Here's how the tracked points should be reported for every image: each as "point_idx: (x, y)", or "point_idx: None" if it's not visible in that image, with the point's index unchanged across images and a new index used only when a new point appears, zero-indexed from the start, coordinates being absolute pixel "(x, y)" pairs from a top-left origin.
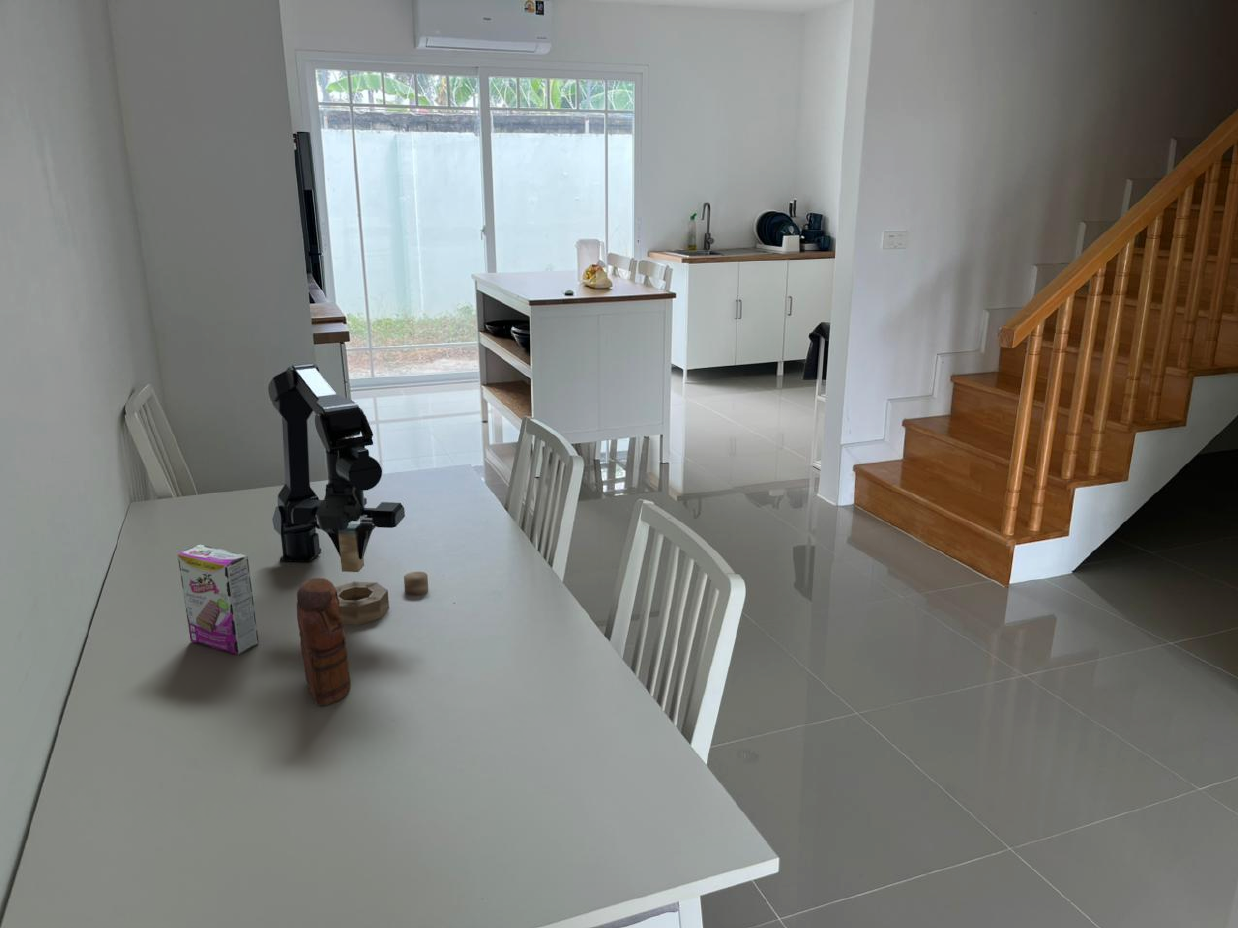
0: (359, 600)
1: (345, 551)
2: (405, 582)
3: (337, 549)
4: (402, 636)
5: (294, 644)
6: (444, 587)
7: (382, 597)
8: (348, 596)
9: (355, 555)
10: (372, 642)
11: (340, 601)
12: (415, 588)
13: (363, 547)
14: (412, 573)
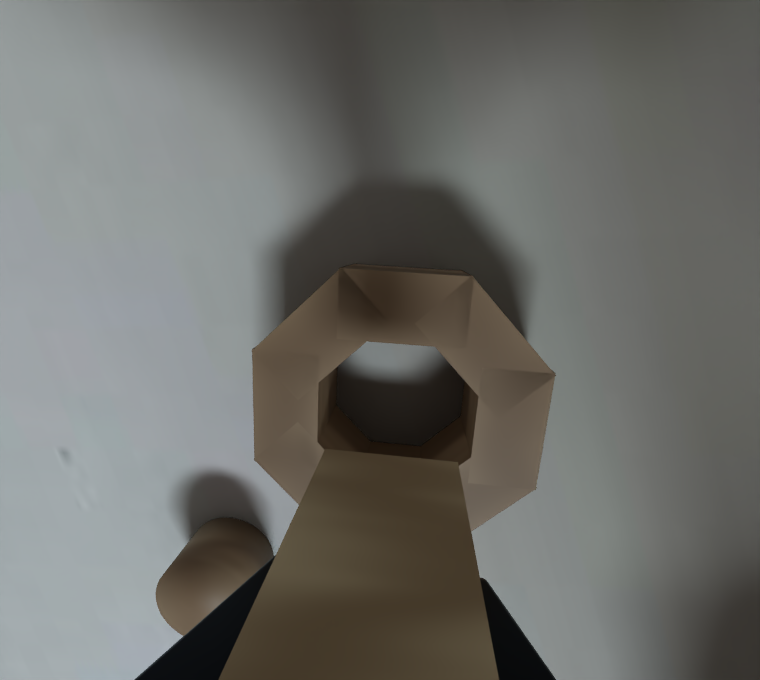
0: (350, 344)
1: (410, 615)
2: (241, 567)
3: (540, 675)
4: (143, 167)
5: (595, 48)
6: (145, 571)
7: (254, 387)
8: (447, 450)
9: (291, 556)
10: (244, 100)
11: (447, 330)
12: (207, 537)
13: (150, 669)
14: None
